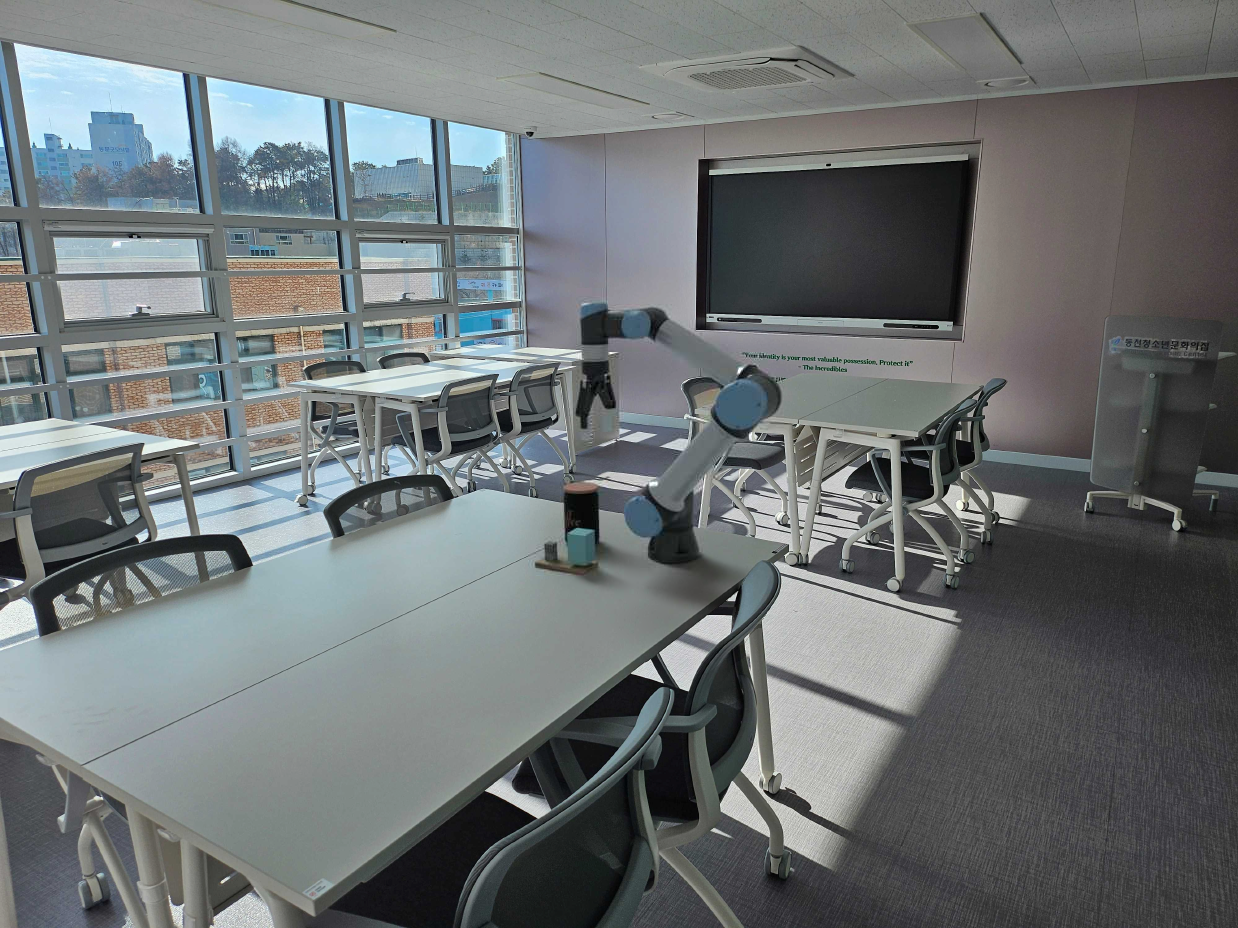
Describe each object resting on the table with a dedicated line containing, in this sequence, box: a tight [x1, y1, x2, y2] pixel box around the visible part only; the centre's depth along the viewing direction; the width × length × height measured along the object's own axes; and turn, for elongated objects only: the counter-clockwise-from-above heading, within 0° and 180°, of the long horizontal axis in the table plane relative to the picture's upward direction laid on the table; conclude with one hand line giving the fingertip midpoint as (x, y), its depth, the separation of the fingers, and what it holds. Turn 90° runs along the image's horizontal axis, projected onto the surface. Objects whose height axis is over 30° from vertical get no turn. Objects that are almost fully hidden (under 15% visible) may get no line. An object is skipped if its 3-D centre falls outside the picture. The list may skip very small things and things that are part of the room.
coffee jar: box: [562, 481, 601, 546], centre depth 254 cm, size 11×11×18 cm
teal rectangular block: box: [567, 528, 596, 566], centre depth 233 cm, size 6×6×9 cm
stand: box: [534, 540, 599, 575], centre depth 235 cm, size 8×16×10 cm, turn 63°
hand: (597, 435), depth 233 cm, fingers open, 13 cm apart
